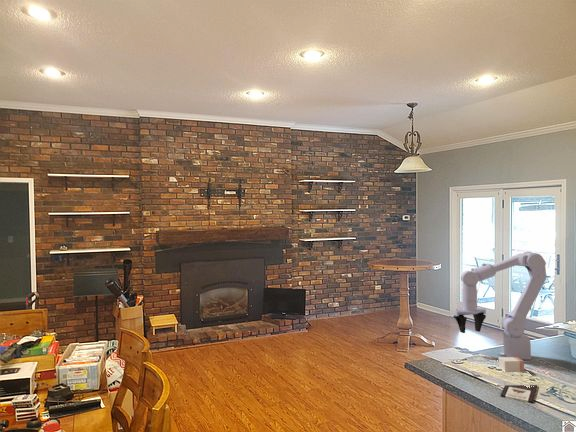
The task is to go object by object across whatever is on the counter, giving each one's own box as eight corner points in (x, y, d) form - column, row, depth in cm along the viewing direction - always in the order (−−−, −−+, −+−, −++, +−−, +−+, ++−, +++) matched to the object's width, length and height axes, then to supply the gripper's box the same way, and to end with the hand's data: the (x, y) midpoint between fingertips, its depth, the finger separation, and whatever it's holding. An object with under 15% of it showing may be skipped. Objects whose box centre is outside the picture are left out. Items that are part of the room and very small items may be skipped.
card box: (498, 367, 158) (498, 357, 158) (517, 367, 158) (517, 357, 158) (504, 372, 154) (504, 361, 154) (523, 372, 154) (523, 361, 154)
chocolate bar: (537, 382, 144) (532, 401, 129) (538, 385, 144) (533, 404, 129) (508, 377, 149) (500, 395, 134) (508, 380, 149) (500, 398, 134)
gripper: (461, 302, 171) (462, 335, 171) (490, 300, 175) (491, 332, 175) (450, 299, 178) (450, 331, 178) (478, 297, 182) (479, 328, 182)
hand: (470, 331), depth 177 cm, fingers open, 7 cm apart
